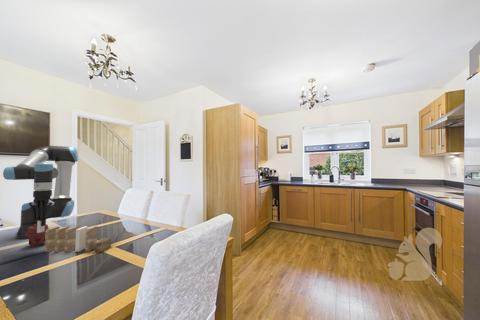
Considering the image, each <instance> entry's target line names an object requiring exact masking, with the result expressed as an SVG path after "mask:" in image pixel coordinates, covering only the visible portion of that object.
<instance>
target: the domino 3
mask: <svg viewBox="0 0 480 320" xmlns="http://www.w3.org/2000/svg"><path fill="white" fill-rule="evenodd" d="M79 228H80V227H79V226H72V227H69V229H66V237H65V249H64V252H65V253H69V252H71V251H73V250H75V242H76V229H79Z"/></svg>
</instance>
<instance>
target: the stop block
mask: <svg viewBox="0 0 480 320" xmlns="http://www.w3.org/2000/svg"><path fill="white" fill-rule="evenodd" d="M111 247H112V237H103V238H101V239H99V240H97V242H95V243H94V249H93V252H94V253H103V252H104V251H105V250H107V249H108V248H109V249H110V248H111Z"/></svg>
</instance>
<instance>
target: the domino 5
mask: <svg viewBox="0 0 480 320" xmlns="http://www.w3.org/2000/svg"><path fill="white" fill-rule="evenodd" d="M98 228H99V227H98V226H97V225H94V226H91V227H88V229H86V242H85V249H84V252H91V251H92V250H93V251H94V243H95V242H97V241H98Z"/></svg>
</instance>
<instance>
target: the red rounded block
mask: <svg viewBox="0 0 480 320" xmlns="http://www.w3.org/2000/svg"><path fill="white" fill-rule="evenodd" d="M47 229H49V224H47V223H46V225H45V230H44V231H43V232H40V233H37V226H36V224H35V225H33V226H31V227H28V232H27V233H26V234H25V236H26V237H29V238H28V245H29V248H30V249H31V248H35V247H40V246H45V234H46V230H47Z"/></svg>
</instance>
